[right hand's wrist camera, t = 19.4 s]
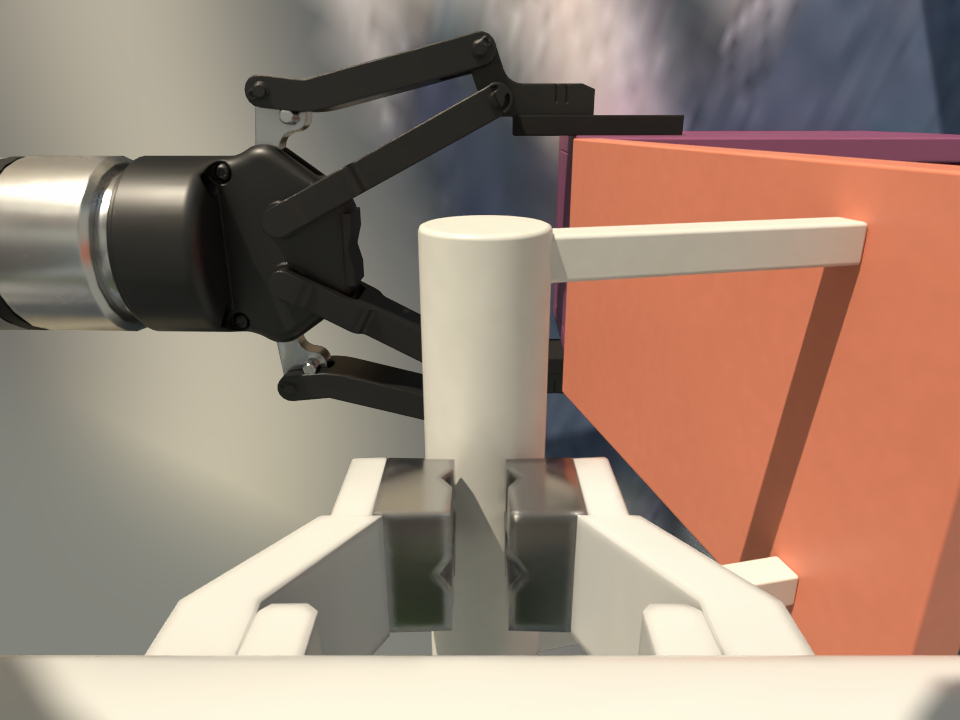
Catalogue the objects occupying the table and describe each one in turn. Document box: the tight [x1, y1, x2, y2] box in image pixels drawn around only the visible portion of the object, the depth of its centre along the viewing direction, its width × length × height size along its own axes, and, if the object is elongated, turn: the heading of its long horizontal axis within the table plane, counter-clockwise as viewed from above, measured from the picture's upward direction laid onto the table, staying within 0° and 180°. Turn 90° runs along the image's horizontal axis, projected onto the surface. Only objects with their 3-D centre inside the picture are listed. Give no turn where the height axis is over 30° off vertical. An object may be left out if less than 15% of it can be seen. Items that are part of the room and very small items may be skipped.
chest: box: [553, 131, 960, 349], centre depth 29 cm, size 15×9×10 cm, turn 90°
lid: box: [418, 138, 960, 655], centre depth 16 cm, size 16×9×8 cm
